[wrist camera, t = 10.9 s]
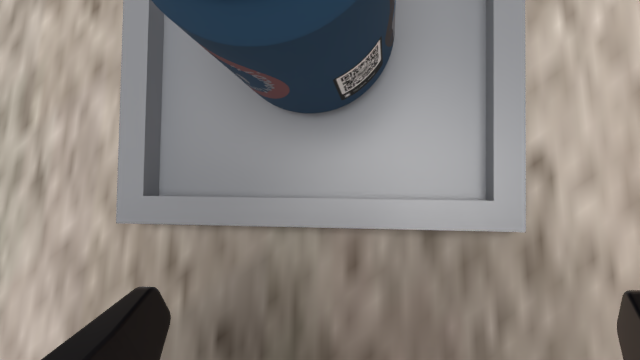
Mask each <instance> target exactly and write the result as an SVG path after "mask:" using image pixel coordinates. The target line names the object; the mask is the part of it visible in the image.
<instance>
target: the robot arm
mask: <svg viewBox="0 0 640 360" xmlns="http://www.w3.org/2000/svg"><path fill="white" fill-rule="evenodd" d="M170 320H171V316H170V311H169V309H168V307H167V305H166V303H165V302H164V300H163V298H162V296H161V294H160V292H159V290H158V289H157V288H155V287H137V288H135V289H134V290H133V291H131V292H130V293H129V294H127V295H126V296H125V297H123V298H122V299H121V300H119V301H118V302H117V303H115V304H114V305H113V306H111V307H110V308H109V309H107V310H106V311H105V312H103V313H102V314H101V315H100V316H98V317H97V318H96V319H94V320H93V321H92V322H90V323H89V324H88V325H86V326H85V327H84V328H82V329H81V330H80V331H78V332H77V333H76V334H74V335H73V336H72V337H71V338H69V339H68V340H67V341H65V342H64V343H63V344H61V345H60V346H59V347H57V348H56V349H55V350H53V351H52V352H51V353H49V354H48V355H47V356H45V357H44V358H43V359H41V360H160V357H161V353H162V350H163V346H164V343H165V339H166V336H167V332H168V329H169V325H170ZM617 332H618V338H619V342H620V347H621V351H622V355H623V359H624V360H640V290H629V291H626V292H625V293H624V294H623V297H622V301H621V306H620V311H619V316H618V320H617Z"/></svg>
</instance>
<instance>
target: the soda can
mask: <svg viewBox="0 0 640 360" xmlns="http://www.w3.org/2000/svg"><path fill="white" fill-rule="evenodd" d="M152 2H153V3H154V4H155V5H156V6H157V7H158V8H159V9H160V11H161V12H163V13H164V14H165V15H166V16H167V17H168V18H169V19H170V20H172V21H173V22H174V23H175V24H176V25H177V26H179V27H180V28H181V29H182V30H183V31H184V32H186V33H187V34H188V35H189V36H190V37H191V38H193V39H194V40H195V41H196V42H197V43H198V44H200V45H201V46H202V47H203V48H204V49H205V50H207V51H208V52H209V53H210V54H211V55H212V56H214V57H215V58H216V59H217V60H218V61H220V62H221V63H222V64H223V65H224V66H225V67H227V68H228V69H229V70H230V71H231V72H232V73H234V74H235V75H236V76H237V77H238V78H239V79H241V80H242V81H243V82H244V83H245V84H246V85H248V86H249V87H250V88H251V89H252V90H253V91H255V92H256V93H257V94H258V95H259V96H261V97H262V98H263V99H265V100H266V101H268V102H269V103H271V104H273V105H275V106H277V107H279V108H282V109H285V110H288V111H292V112H298V113H322V112H327V111H331V110H335V109H338V108H340V107H343V106H345V105H347V104H349V103H351V102H352V101H354V100H356V99H357V98H359V97H360V96H361V95H363V94H364V93H365V92H366V91H367V90H368V89H369V88H370V87H371V86H372V85H373V84H374V83H375V82H376V80H377V79H378V78H379V76H380V75H381V73H382V72H383V70H384V68H385V66H386V64H387V62H388V60H389V57H390V54H391V51H392V47H393V42H394V35H395V10H396V0H152Z"/></svg>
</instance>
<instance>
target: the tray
mask: <svg viewBox="0 0 640 360" xmlns="http://www.w3.org/2000/svg"><path fill="white" fill-rule="evenodd" d="M116 223H132V224H178V225H223V226H268V227H313V228H359V229H404V230H449V231H494V232H526V121H525V0H396V10H395V35H394V42H393V47H392V51H391V54H390V57H389V60H388V62H387V64H386V66H385V68H384V70H383V72H382V73H381V75H380V76H379V78H378V79H377V80H376V82H375V83H374V84H373V85H372V86H371V87H370V88H369V89H368V90H367V91H366V92H365V93H364V94H363V95H361V96H360V97H359V98H357V99H356V100H354V101H352V102H351V103H349V104H347V105H345V106H343V107H340V108H338V109H335V110H331V111H327V112H322V113H298V112H292V111H288V110H285V109H282V108H279V107H277V106H275V105H273V104H271V103H269V102H268V101H266V100H265V99H263V98H262V97H261V96H259V95H258V94H257V93H256V92H255V91H253V90H252V89H251V88H250V87H249V86H248V85H246V84H245V83H244V82H243V81H242V80H241V79H239V78H238V77H237V76H236V75H235V74H234V73H232V72H231V71H230V70H229V69H228V68H227V67H225V66H224V65H223V64H222V63H221V62H220V61H218V60H217V59H216V58H215V57H214V56H212V55H211V54H210V53H209V52H208V51H207V50H205V49H204V48H203V47H202V46H201V45H200V44H198V43H197V42H196V41H195V40H194V39H193V38H191V37H190V36H189V35H188V34H187V33H186V32H184V31H183V30H182V29H181V28H180V27H179V26H177V25H176V24H175V23H174V22H173V21H172V20H170V19H169V18H168V17H167V16H166V15H165V14H164V13H163V12H161V11H160V9H159V8H158V7H157V6H156V5H155V4H154V3H153V2H152V0H124V2H123V32H122V63H121V93H120V123H119V153H118V183H117V214H116Z"/></svg>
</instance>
